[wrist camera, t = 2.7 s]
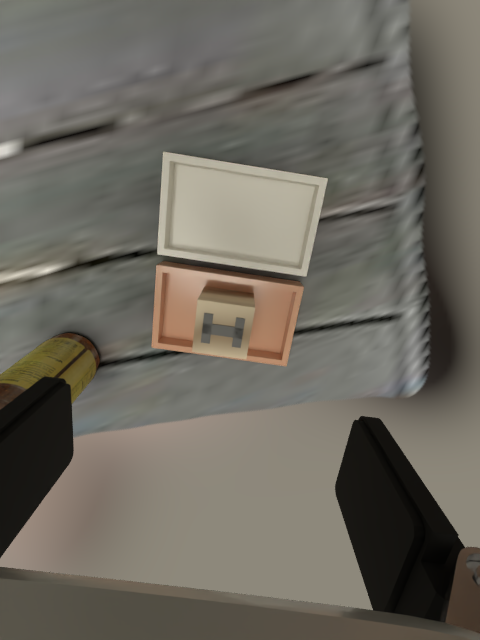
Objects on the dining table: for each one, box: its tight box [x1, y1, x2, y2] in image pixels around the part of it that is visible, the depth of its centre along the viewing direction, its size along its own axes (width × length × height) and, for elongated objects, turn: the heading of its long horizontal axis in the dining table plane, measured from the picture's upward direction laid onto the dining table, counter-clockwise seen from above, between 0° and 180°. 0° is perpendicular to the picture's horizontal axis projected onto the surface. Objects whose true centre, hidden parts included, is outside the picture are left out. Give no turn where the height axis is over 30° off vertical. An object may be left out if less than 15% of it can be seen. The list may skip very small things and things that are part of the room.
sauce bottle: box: [0, 333, 100, 410], centre depth 26 cm, size 7×6×20 cm
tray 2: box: [152, 261, 304, 366], centre depth 32 cm, size 8×14×2 cm, turn 81°
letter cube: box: [192, 286, 255, 359], centre depth 30 cm, size 5×5×5 cm
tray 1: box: [157, 152, 328, 277], centre depth 29 cm, size 8×14×2 cm, turn 82°
